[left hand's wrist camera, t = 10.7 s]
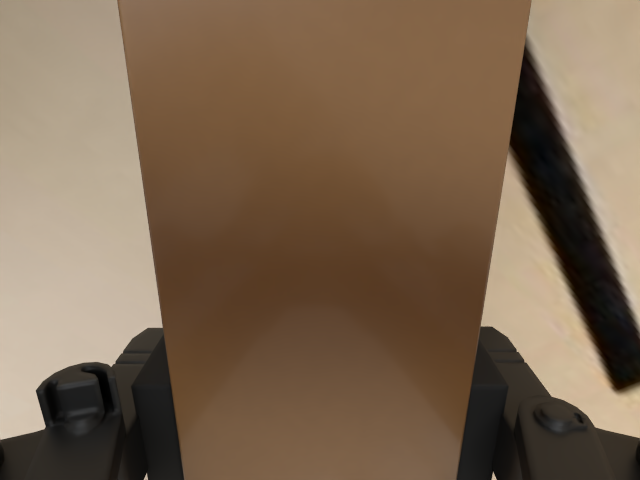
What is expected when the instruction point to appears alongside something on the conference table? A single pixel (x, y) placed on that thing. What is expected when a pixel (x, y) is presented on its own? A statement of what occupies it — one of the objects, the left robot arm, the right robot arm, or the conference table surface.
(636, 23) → the conference table surface
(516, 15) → the bar
